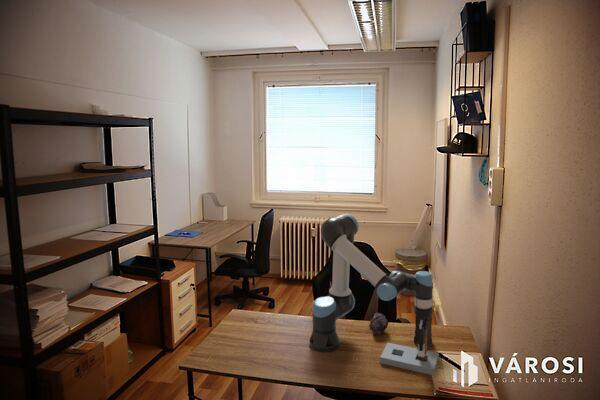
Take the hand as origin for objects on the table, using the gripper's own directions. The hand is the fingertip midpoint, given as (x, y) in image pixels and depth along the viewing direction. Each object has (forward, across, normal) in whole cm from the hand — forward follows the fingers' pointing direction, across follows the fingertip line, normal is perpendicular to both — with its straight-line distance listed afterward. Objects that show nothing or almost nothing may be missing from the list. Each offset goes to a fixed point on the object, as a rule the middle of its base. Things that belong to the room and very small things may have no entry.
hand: (422, 353), depth 190 cm
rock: (+5, +22, +26) cm, 35 cm away
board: (+5, 0, +6) cm, 8 cm away
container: (+5, +19, +3) cm, 20 cm away
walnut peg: (+3, 0, 0) cm, 3 cm away
